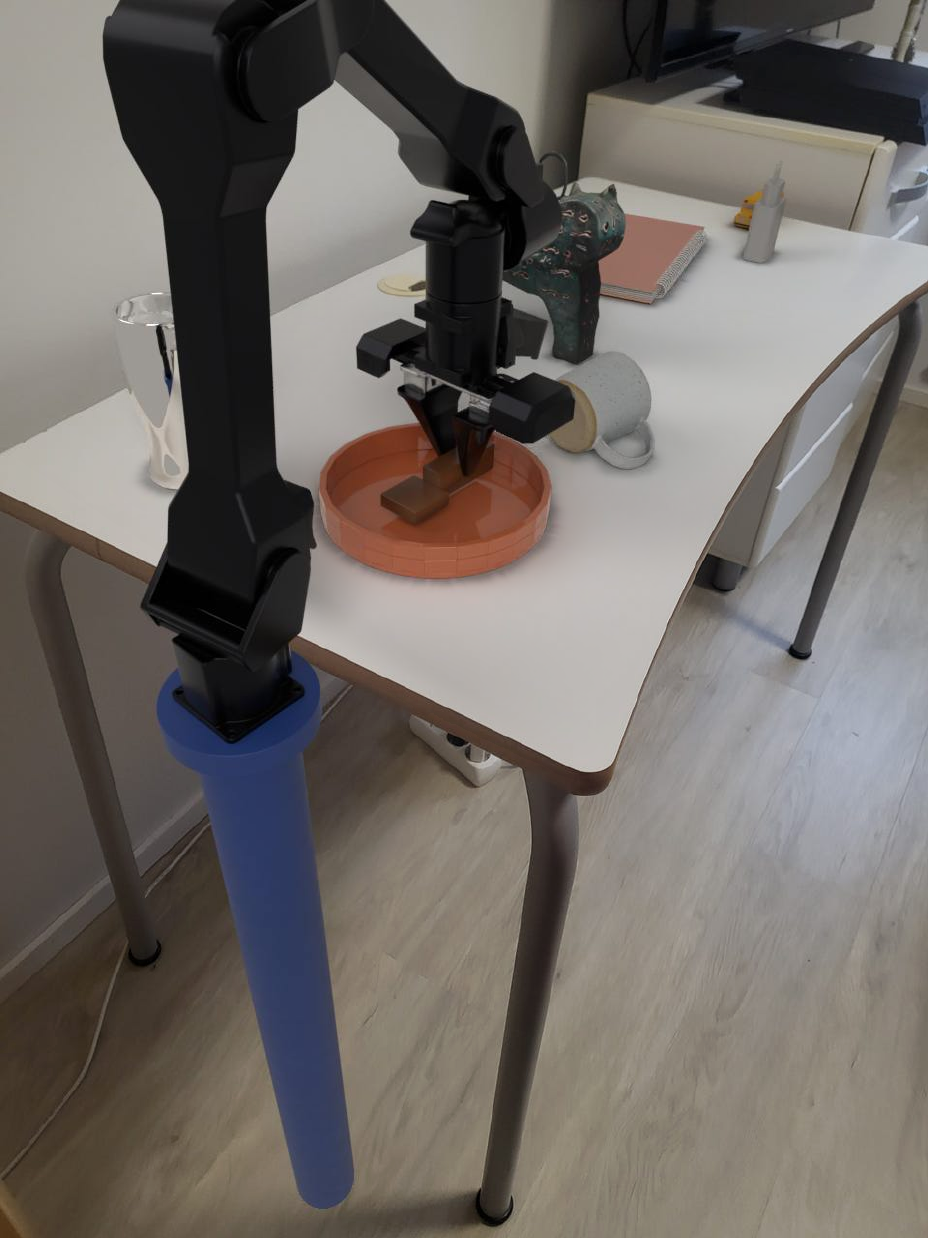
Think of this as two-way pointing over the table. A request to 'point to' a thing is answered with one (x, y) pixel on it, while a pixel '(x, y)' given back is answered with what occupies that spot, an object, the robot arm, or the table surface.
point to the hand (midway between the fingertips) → (458, 469)
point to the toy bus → (747, 210)
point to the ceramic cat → (573, 267)
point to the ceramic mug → (607, 408)
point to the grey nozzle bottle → (766, 220)
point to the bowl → (452, 537)
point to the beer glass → (154, 380)
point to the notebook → (649, 258)
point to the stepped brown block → (433, 486)
